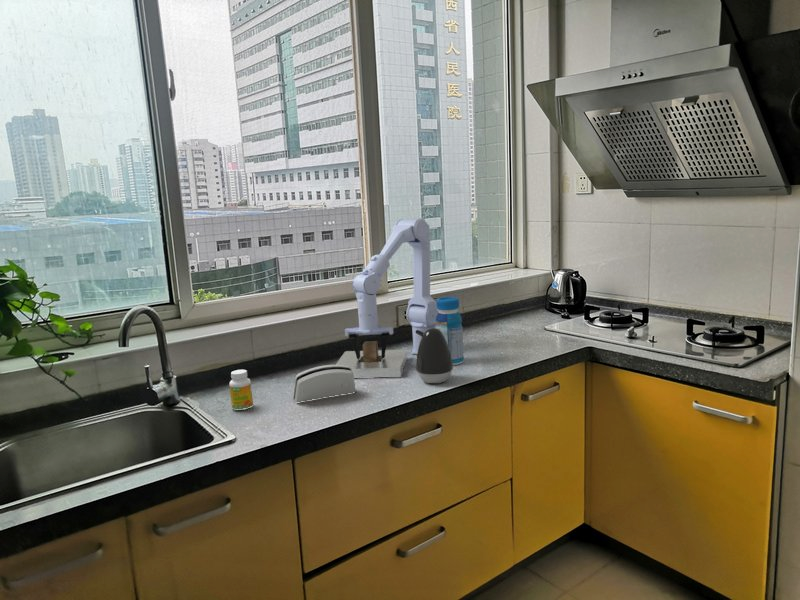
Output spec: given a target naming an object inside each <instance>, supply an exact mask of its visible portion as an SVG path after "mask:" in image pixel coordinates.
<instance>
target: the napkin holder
mask: <svg viewBox="0 0 800 600" xmlns="http://www.w3.org/2000/svg"><path fill="white" fill-rule="evenodd" d="M353 392H356V384H355V379H354V375H353V372H352V369H351V368H350V367H349V366H345V365H336V364H326V365H320V366H315V367H311V368H308V369H305V370H303V371H301V372H299V373H297V374H296V375H295V378H294V387H293V392H292V400H294V401H295V402H301V401H307V400H312V399H318V398H323V397H329V396H335V395H341V394H348V393H353ZM356 393H357V392H356ZM295 402H294V403H295Z"/></svg>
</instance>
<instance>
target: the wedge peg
mask: <svg viewBox="0 0 800 600" xmlns="http://www.w3.org/2000/svg"><path fill="white" fill-rule="evenodd" d="M378 345H379V344H378V340H374V341H373V340H371V341H364V342H363V344H362V351H363V358H364V362H379V356H378V350H379V346H378Z"/></svg>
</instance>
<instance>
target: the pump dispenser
mask: <svg viewBox="0 0 800 600" xmlns="http://www.w3.org/2000/svg"><path fill="white" fill-rule="evenodd" d="M416 333H417V334H418V335H420V336H421V337H422V338H421V341H420V344H419V347H418V352H417V354H416V361H415V362H416V363H415V369H416V371H417V374H418V376H419V378H420V379H421V380H422V381H423V382H425V383H427V384H429V383H439V384H442V382H443V383H444V382H446V381H448V379H449V378H450V377H451V375H452V371H453V369H454V365H453V363H452V357H451V353H450V349H449V346H448V344H447V341H446V339H445V337H444V335H443V334H442V332H441V331H440V330H438V329H436V328H430V329H428V330H426V331H425V333H424V332H422V331H419V330H416Z"/></svg>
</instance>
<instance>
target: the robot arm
mask: <svg viewBox="0 0 800 600" xmlns="http://www.w3.org/2000/svg"><path fill="white" fill-rule="evenodd" d="M391 230H392V232H391V234H390V236H389V238H388V239H387V241H386V243H385V244H384V246H383V247H382V250H381V251H380V253H379V254H374V255H373V256H371V257H370V258H369V259H370V260H369V262H368V263H367V265H366V266H365V268H364V269H363V270H362V272H361V274H357V275H356V276H355V277H354V279H353V281H352V284H351V288H352V290H353V292H354V293H355V298H356V301H357V313H358V315H357V316H358V327H350V328H349V327H348V328H345V329H344V336H345V337H348V341H349V343H350V345H351V346H352V348H353V351H355V353H356V357H357V359H359V358H360V351H361V350H360V336H369V335H373V336H374V335H380V337H379V338H380V345H381V350H382V358H384V357H385V350H387V345H388V341H389V338H390V337H391V335H393V334H394V326H381V325H380V326H379V321H378V319H379V318H378V317H379V316H378V306H377V305H378V304H377V292H378V291H379V290H380V287H381V285H380V284H381V281H382V278H383V277H384V276H385V273H386V272H387V271H388V270H389V268H390V266H391V265H390V260H391V259H392V257H393V256H394V255H395V254H396V253H397V251H398V250H399V248H400V247H401V246H402V245H403V244H404V243H408V244H409V245H410V247H412V248H413V295H412V297H411V298H410V299H409V300H408V303H407V304H408V306H407V308H406V320H407V321H408V322H409V324H410V326H411V328H412V329H411V331H412V344H413V345H412V349H411V355H417V352H418V347H419V344H420V341H421V338H422V337H421V336H420V335H418V334H417V333H416V330H419V331H422V332H424V333H425V331H426V330H428V329H430V328H436V323H435V319H436V316H437V314H438V313H439V310H437V300H435V299H434V298H433V297H432V296H431V239H430V225H429V224H428V222H427V221H426V220H425V219H424V218H417V219H416V218H414V219H413V218H409V219H404V218H401V219H398V220H396V222H395V224H394V225H393V226H392V229H391Z"/></svg>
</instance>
